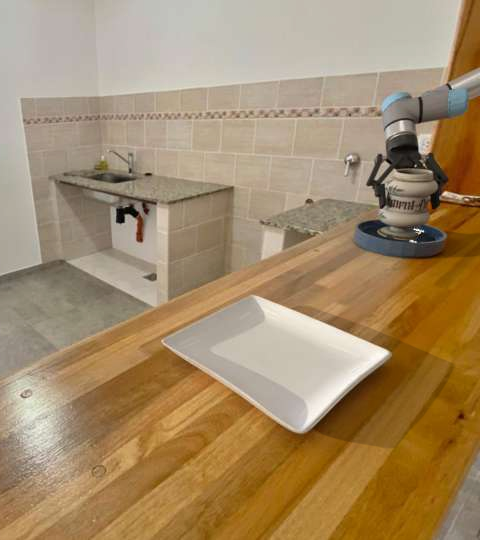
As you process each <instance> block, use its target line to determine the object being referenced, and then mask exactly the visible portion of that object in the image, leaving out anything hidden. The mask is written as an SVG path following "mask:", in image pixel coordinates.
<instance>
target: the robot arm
mask: <svg viewBox="0 0 480 540" xmlns="http://www.w3.org/2000/svg"><path fill="white" fill-rule="evenodd" d="M477 97H480V67H478V68H476V69H473V70H471V71H469V72H467V73H464V74H463V75H461V76H459V77H457V78H454V79H453V80H450V81H448V82H446V83H445V84H442V85H440V86H438V87H436V88H434V89H431V90H427V91H425V92H423V93H422V94H420V95H419V96H415V97H413V96H412V95H411V93H409V92H406V91H405V92H403V91H398V92H394V93H392V94H391V95H389V96H387V97H386V98H385V99H384V100H383V102H382V104H381V118H382V126H383V127H382V128H383V135H384V143H385V154H386V155H383V154H382V153H377V155H376V156H375V158H374V160H373V161H374V162H373V163H374V165H373V168H372V170H371V172H370V174H369V176H368V179H367V181H366V183H365V185H366V187H372V188H371V189H372V190H373V191H374V197H375V198H378V207H379V209H383V208H384V207H385V206H386V204H387V202H386V198H387V193H386V192H387V191H386V189H385V183H383V182H385V180H386V179H387V177H389V175H390V174H391V173H392V172H393V171H394V170H395V171H396V170H399V169H424V170H430V171H432V172H433V180H434V181H436V183H437V184H438V189H437V191H436V192H434V193H433V194H430V197H429V201H430V207H431V210H436V209H438V207H440V206H441V200H440V199H441V196H442V194H443V190H442V187H444V186H445V185H446V184H447V183H448V182H449V181H450V178H449V177H448V176H447V174H446V173H445V171H444V170H443V169H442V168H441V166H440V165H439V163H438V162H437V161H436V159H435V156H434V153H433V152H428V153H427V154H421V153H420V148H419V140H418V133H417V126H416V125H419V124H422V123H428V122H429V123H430V122H434V121H440V120H441V121H442V120H445V119H453V118H456V117H462V116H463V115H464V114H466V113H467V112H468V109H469V103H470V100H473V99H475V98H477ZM384 162H386V163H387V164H388V165H389V166H388V167H387V168H386V170H384V172H383V173H382V174H381V175H380V176H379V178H377V180H376V177H377V175H378V172H379V170H380V168H381V166H382V164H383V163H384Z"/></svg>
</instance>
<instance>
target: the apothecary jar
mask: <svg viewBox="0 0 480 540" xmlns="http://www.w3.org/2000/svg"><path fill="white" fill-rule="evenodd" d="M391 176H392V177H390V178H388V179H387V180H386V181H384V184H385V191H386V192H387V193H386V202H387V204H386V206H385V207H384V208H383V209H380V208H379V209H378V211H377V213H376V216H377V218H378V219H380V220H381V221H382V222H383V223H385V224H387V225H390V226H391V227H384V228H380V229H379V230H378V231H377V232H378V234H380V235H381V236H384V237H388V238H393V239H397V240H415V239H418V238H419V235H418V234H417V233H416V232H414V231H412V230H411V229H408V228H414V227H419V226H421V225H424V224H427V223H428V222H429V221H430V219H431V215H430V213H429V211H428V210H427V209H428V203H429V201H430V194H433V193H434V192H436V191H437V189H438V184H437V183H436V181H434V180H433V172H432V171H430V170H424V169H399V170H396V169H395V171H394V173H393V174H392V175H391Z"/></svg>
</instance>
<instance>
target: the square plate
mask: <svg viewBox="0 0 480 540" xmlns="http://www.w3.org/2000/svg"><path fill="white" fill-rule="evenodd" d="M161 343H162V344H163V345H164V346H165V347H167V348H168V349H169V350H170V351H172V352H173V353H174V354H176V355H177V356H178V357H180V358H181V359H183V360H185V361H186V362H187V363H189V364H191V365H192V366H194V367H195V368H197V369H199V370H201V371H202V372H204V373H205V374H207V375H208V376H210V377H211V378H213V379H215V380H216V381H217V382H219V383H220V384H223V386H225V387H226V388H229V389H230V390H231V391H232V392H234V393H236V394H237V395H238V396H240V397H241V398H243V399H244V400H245V401H247V403H249V404H251V405H253V406H254V407H255V408H257V410H259V411H260V412H261V413H263V414H265V415H266V416H267V417H269V418H270V419H271V420H273V421H275V422H276V423H277V424H279V425H281V426H282V427H284V428H285V429H287V430H289V431H291V432H293V433H295V434H299V435H305V434H307V433H308V432H310V430H312V429H313V428H314V427H315V426H316V425H317V424H319V423H320V421H321V420H322V419H323V418H324V417H326V415H327V414H328V413H329V412H330V411H331V410H332V409H333V408H334V407H335V406H336V405H337V404H338V403H339V402H340V401H341V400H342V399H343V398H344V397H345V396H346V395H348V394H349V392H350V391H352V390H353V389H354V388H355V387H356V386H357V385H358V384H360V383H361V382H362V381H363V380H364V379H366V378H367V377H368V376H370V375H371V374H372V373H374V372H375V371H376V370H377V369H379V368H380V367H382V366H383V365H384V364H385V363H386V362H387V361H389V360H390V359H391V357H393V353H392V352H391V350H388V349H386V348H384V347H382V346H379V345H376V344H375V343H372V342H370V341H367V340H366V339H363V338H360V337H358V336H356V335H354V334H351V333H349V332H346V331H344V330H342V329H339V328H338V327H335V326H333V325H331V324H328V323H326V322H324V321H321V320H319V319H317V318H314V317H312V316H309V315H306V314H305V313H303V312H299V311H298V310H295V309H292V308H290V307H287V306H284V305H283V304H279V303H276V302H274V301H273V300H272V301H271V300H269V299H267V298H264V297H261V296H259V295H257V294H256V295H255V294H250V295H248V296H245V297H244V298H242V299H240V300H238V301H236V302H234V303H231V304H229V305H228V306H225V307H223V308H222V309H220V310H217V311H216V312H213V313H211V314H209V315H207V316H205V317H204V318H201V319H199V320H198V321H197V320H196V321H195V322H193V323H191V324H189V325H188V326H185V327H184V328H181V329H180V330H178V331H176V332H174V333H172V334H170V335H168V336H166V337H164V338H163V339H161Z"/></svg>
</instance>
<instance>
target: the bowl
mask: <svg viewBox="0 0 480 540" xmlns="http://www.w3.org/2000/svg"><path fill="white" fill-rule="evenodd" d="M384 227H391V226H390V225H387V224H385V223H383V222H382V221H381V220H380V219H379V218H378V219H376V218H375V219H367V220H363V221H359V222H357V223H356V224H355V227H354V231H353V235H352V239H353V241H354V242H355V243H356V244H357V246H359V247H361V248H363V249H364V250H367V251H369V252H371V253H372V252H373V253H375V254H378V255H383V256H387V257H388V256H389V257H395V258H405V259H406V258H407V259H410V258H411V259H419V258H421V259H422V258H429V257H433V256H435V255H438V254H440V253H442V252H443V250H444V248H445V245H446V241H447V238H448V235H447V233H446V232H445V231H443V230H442V229H439V228H438V227H435V226H432V225H429V224H427V223H425V224H424V225H421V226H419V227H414V228H408V229H411V230H412V231H414V232H416V233H417V234H418V235H419V238H418V239H415V240H397V239H393V238H388V237H384V236H381V235H380V234H378V232H377V231H378V230H379V229H380V228H384Z"/></svg>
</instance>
